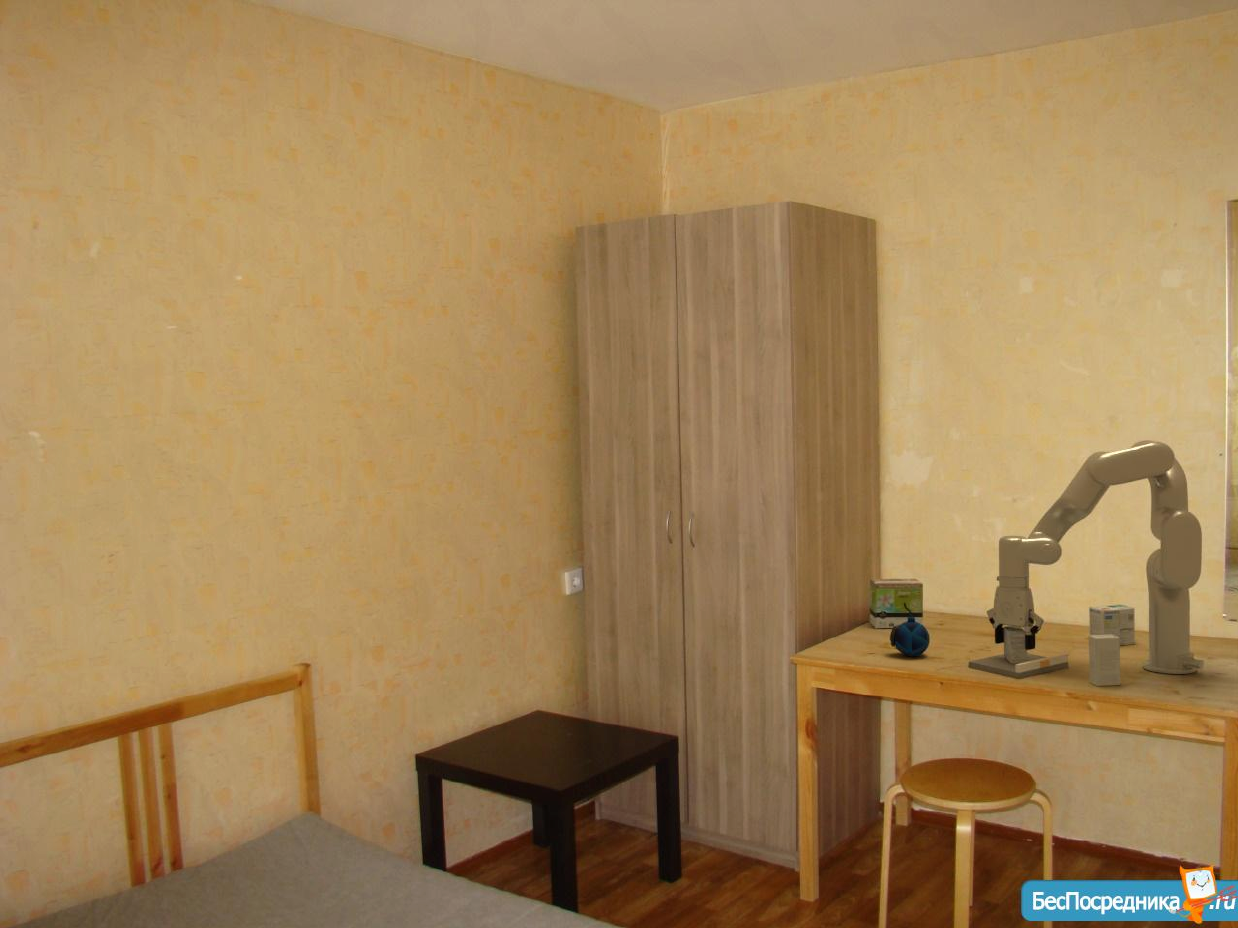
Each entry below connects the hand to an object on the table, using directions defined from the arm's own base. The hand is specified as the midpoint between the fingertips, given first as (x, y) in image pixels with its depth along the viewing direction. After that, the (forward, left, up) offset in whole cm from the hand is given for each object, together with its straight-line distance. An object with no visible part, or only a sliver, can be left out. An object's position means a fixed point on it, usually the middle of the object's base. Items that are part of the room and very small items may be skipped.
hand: (1014, 646), depth 289 cm
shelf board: (-1, 0, -6) cm, 6 cm away
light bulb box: (+1, -44, -6) cm, 44 cm away
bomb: (+26, +12, -6) cm, 29 cm away
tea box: (+58, -16, -6) cm, 60 cm away
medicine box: (0, 0, -4) cm, 4 cm away
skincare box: (-25, -2, -6) cm, 26 cm away
